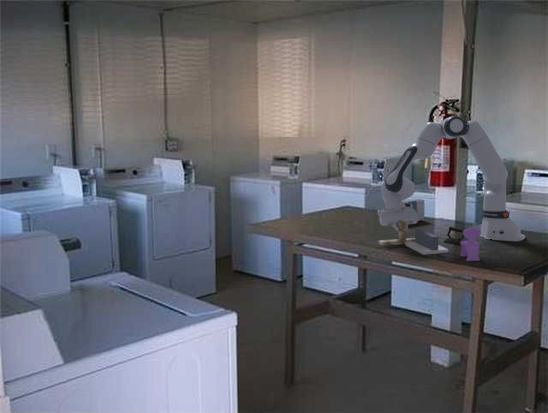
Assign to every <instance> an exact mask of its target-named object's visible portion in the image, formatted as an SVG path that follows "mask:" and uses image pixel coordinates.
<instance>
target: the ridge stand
mask: <svg viewBox="0 0 548 413" xmlns="http://www.w3.org/2000/svg"><path fill="white" fill-rule="evenodd" d="M414 238H415V242H405V244H404V245H405V247H408V248H409V249H412V250H413V251H415V252H417V253H419V254H421V255H422V256H423V255H424V256H425V255H435V254H445V253H446V254H447V253H449V249H448V248H447V247H445V246H442V245H440V244H439V236H438V235H436V234H433V233H431V232H429V231H426V230H424V229H423V228H418V229H416V228H415V229H414Z"/></svg>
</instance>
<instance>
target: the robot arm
mask: <svg viewBox="0 0 548 413" xmlns="http://www.w3.org/2000/svg"><path fill="white" fill-rule="evenodd" d="M458 137H460V138H462V140H464V142H465V144H466V145H467V148H468V150H469V151H470V153H471V154H472V157H473V158H474V161H475V162H476V163H477V165H478V167H479V169H480V171H481V173H482V175H483V205H482V207H483V208H482V209H481V210H482V211H481V212H482V213H481V227H480V230H481V234H480V235H479V236H478V237H481V238H484V239H485V240H490V239H492V240H493V241H506V242H522V241H523V240H525V239H526V235H525V234H521V227H520V225H519V224H517V223H516V222H515V221H514V220H513V219H512V218H510V214H511V211H508V210H507V208H506V207H507V179H508V176H509V174H508V173H509V172H508V169H507V168H506V166H505V164H504V162H503V160H502V159H501V157H500V155H499V153H498V152H497V150H496V148H495V146H494V145H493V143H492V141H491V140H490V138H489V136H488V134H487V133H486V131H485V130H484V128H483V127H482V125H481V124H480V123H479V122H478V121H477V120H472V119H471V120H466V119H463V118H462V117H461V116H457V115H451V116H449V117H447V118H445V119H443V120H442V121H441V122H440V123H437V122H434V121H433V122H432V121H429V122H426V123H425V125H424V126H423V127H422V129H421V130H420V131H419V133H418V135H417V137H416V140H415V141H414V142H413V144H412V145H410V146H409V147H407V149H406V150H405V151H403V154H402V155H401V157H400V158H399V159H398V161H397V163H396V165H395V166H394V168H393V169H392V170H391V171H390V172H389V174H387V176H386V177H385V180H384V182H383V183H382V184H381V186H380V193H381V197H382V200H383V202H384V206H385V209H382V208H381V209H379V210H377V211H376V213H377V216H378V218H379V224H380V226H382V227H387V226H388V227H389V226H392V228H393V229H395V230H396V232H397V233H398V232H400V227H398V220H405V221H406V232H408V231H409V227H408V226H409V225H414V224H415V225H416V224H417V223H418V222H419V221H418V219H419V218H418V215H417V213H416V211H415V210H414V209H413V208H412V207H413V205H412V204H409V203H405V202H402V200H406V199H410V197H412V196H413V195H414V194H415V192H416V184H415V182H413V181H412V180H410V179H409V178H407V177H406V176H405V173H406V172H407V170H408V169H409V168H410V166H411V164H412V163H413V162H414V161H416V160H427V159H429V158H431V157H432V156H433V154H434V153H435V152H436V148H437V147H438V145H439V143H440V141H441V140H442V139H443V140H453V139H456V138H458Z"/></svg>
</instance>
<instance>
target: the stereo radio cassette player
mask: <svg viewBox="0 0 548 413" xmlns="http://www.w3.org/2000/svg"><path fill="white" fill-rule="evenodd" d="M402 202H405V203H409V204H412V205H413V207H412V208H413V209H414V210H415V211H416V213H417V215H418V218H419V219H418V221H417V222H422V221H423V220H424V219H425V208H426V207H425V199H422V198H417V197H416V198H415V197H413V198H407V199H405V200H402Z"/></svg>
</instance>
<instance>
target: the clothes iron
mask: <svg viewBox="0 0 548 413" xmlns="http://www.w3.org/2000/svg"><path fill="white" fill-rule="evenodd" d="M464 230H465V229H462V228H458V227H454V226H452V225H451V226H449V228H448V232H447V234H446V235H447V237H448V238H446V239H445V240H443V244H450V245H459V246H461V241H465V240H464V238H465V236H464V235H463V231H464ZM451 231H452V232H457V233H461V234H462V237H460V238H457V237H451V235H450V234H451Z"/></svg>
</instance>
